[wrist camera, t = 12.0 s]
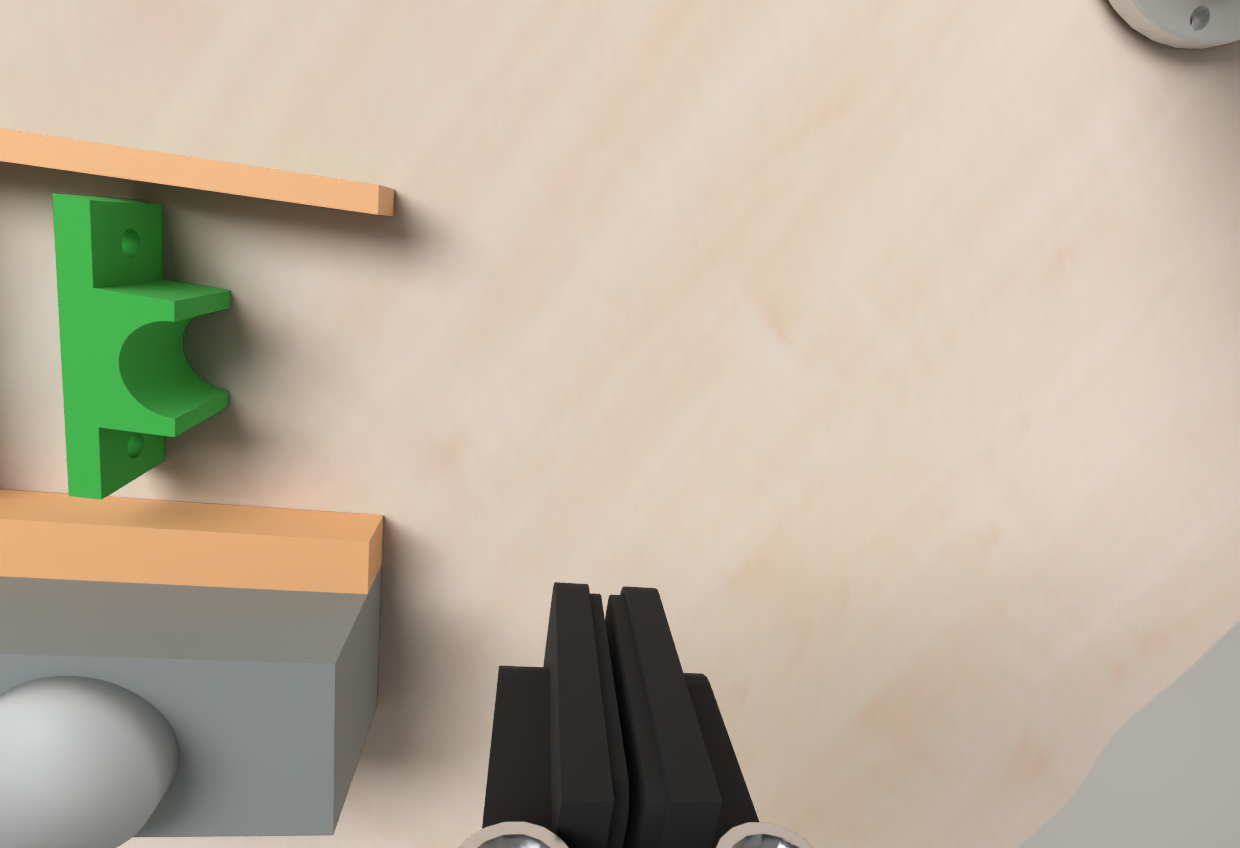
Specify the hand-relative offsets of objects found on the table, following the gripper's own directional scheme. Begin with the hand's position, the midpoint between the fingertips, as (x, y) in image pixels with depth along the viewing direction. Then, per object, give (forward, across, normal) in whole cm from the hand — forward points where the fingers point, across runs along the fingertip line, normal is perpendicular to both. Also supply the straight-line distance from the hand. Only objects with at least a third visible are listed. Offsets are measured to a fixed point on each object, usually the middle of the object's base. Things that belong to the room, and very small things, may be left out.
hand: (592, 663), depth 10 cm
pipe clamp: (+18, +16, 0) cm, 24 cm away
